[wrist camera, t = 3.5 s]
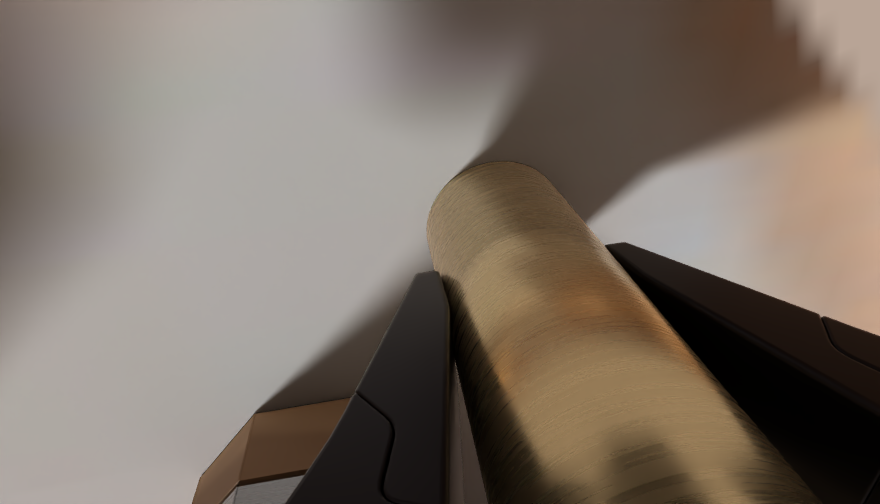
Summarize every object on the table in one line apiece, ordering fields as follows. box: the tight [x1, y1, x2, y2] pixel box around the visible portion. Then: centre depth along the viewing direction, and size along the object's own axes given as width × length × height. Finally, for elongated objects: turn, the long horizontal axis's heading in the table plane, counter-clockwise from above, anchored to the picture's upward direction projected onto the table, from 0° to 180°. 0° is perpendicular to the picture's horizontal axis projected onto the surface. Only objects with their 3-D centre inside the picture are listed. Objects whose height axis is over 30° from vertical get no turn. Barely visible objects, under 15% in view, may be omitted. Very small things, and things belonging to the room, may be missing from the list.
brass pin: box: [427, 161, 822, 504], centre depth 7 cm, size 3×3×8 cm
